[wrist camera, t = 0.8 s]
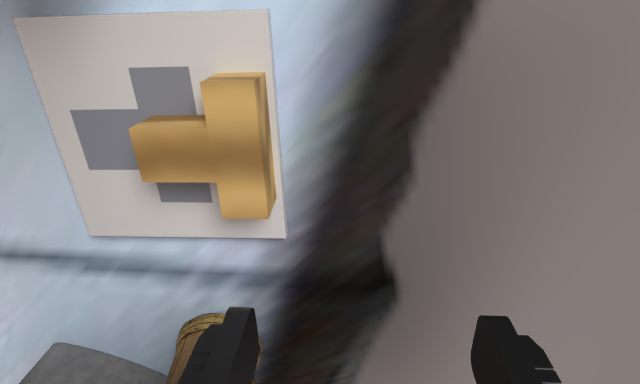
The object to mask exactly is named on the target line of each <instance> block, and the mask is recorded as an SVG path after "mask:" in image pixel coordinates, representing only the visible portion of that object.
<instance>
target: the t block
mask: <svg viewBox="0 0 640 384" xmlns="http://www.w3.org/2000/svg"><path fill="white" fill-rule="evenodd" d="M200 88H201V94H202V100H203V106H204V112H205V115H152V116H150V117H149V118H147V119H145V120H143V121H142V122H140V123H138V124H136V125H134V126H133V127H131V128H129V129H128V130H129V133H130V137H131V141H132V145H133V148H134V152H135V156H136V160H137V164H138V167H139V171H140V175H141V179H142V182H214V183H217V189H218V195H219V201H220V207H221V213H222V219H269V217H270V214H271V211H272V209H273V206H274V203H275V201H276V198H277V196H276V185H275V174H274V163H273V152H272V141H271V131H270V120H269V109H268V98H267V87H266V76H265V72H247V73H216V74H214V75H212V76H210V77H208V78H207V79H205V80H203V81H201V82H200Z"/></svg>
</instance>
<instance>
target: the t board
mask: <svg viewBox="0 0 640 384" xmlns="http://www.w3.org/2000/svg"><path fill="white" fill-rule="evenodd" d="M12 19H13V22H14V25H15V28H16V30H17V33H18V36H19V39H20V42H21V44H22V47H23V50H24V53H25V56H26V58H27V61H28V64H29V67H30V70H31V72H32V75H33V78H34V81H35V84H36V86H37V89H38V92H39V95H40V97H41V100H42V103H43V106H44V109H45V111H46V114H47V117H48V120H49V123H50V125H51V128H52V131H53V134H54V137H55V139H56V142H57V145H58V148H59V151H60V153H61V156H62V159H63V162H64V165H65V167H66V170H67V173H68V176H69V179H70V181H71V184H72V187H73V190H74V193H75V195H76V198H77V201H78V204H79V207H80V209H81V212H82V215H83V218H84V221H85V223H86V226H87V229H88V232H89V235H90V236H143V237H219V238H286V237H287V233H288V229H287V217H286V204H285V192H284V180H283V167H282V155H281V143H280V130H279V118H278V106H277V93H276V81H275V68H274V56H273V44H272V31H271V19H270V9H255V10H225V11H195V12H166V13H136V14H106V15H77V16H47V17H18V18H12ZM247 72H265V76H266V87H267V98H268V109H269V120H270V131H271V141H272V152H273V163H274V174H275V185H276V196H277V198H276V201H275V203H274V206H273V209H272V211H271V214H270V217H269V219H222V213H221V207H220V201H219V195H218V189H217V183H214V182H142V179H141V175H140V171H139V167H138V164H137V160H136V156H135V152H134V148H133V145H132V141H131V137H130V133H129V130H128V129H129V128H131V127H133V126H134V125H136V124H138V123H140V122H142V121H143V120H145V119H147V118H149V117H150V116H152V115H205V112H204V106H203V100H202V94H201V88H200V82H201V81H203V80H205V79H207V78H208V77H210V76H212V75H214V74H216V73H247Z"/></svg>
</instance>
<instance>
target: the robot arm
mask: <svg viewBox="0 0 640 384" xmlns="http://www.w3.org/2000/svg"><path fill="white" fill-rule="evenodd" d="M258 357H259V338H258V331H257V324H256V316H255V310H254V308H244V307H229V309H228V310H227V312H226V315H225V318H224V320H223V323H222V324H211V325H210V326H209V327H208V328H207V329H206V330H205V331H204V332H203V333H202V334H201V335H200V336H199V337H198V340H197V342H196V344H195V346H194V348H193V351H192V355H190V357H189V359H188V362H187V364H186V368H184V370H183V373H182V375H181V377H180V379H179V381H178V384H252V382H253V378H254V374H255V370H256V367H257V362H258ZM471 365H472V370H473V374H474V377H475V380H476V383H477V384H561V381H560V379H559V377H558V375H557V374H556V372H555V371H554V370H553V366H552V364H551V363H550V361H549V359H548V357H547V355H546V354H545V352H544V350H543V349H542V348H541V347H540V346H538V345H537V344H536V343H535V342H534V341H533V340H532V339H531V338H530V337H529V336H526V335H525V336H524V335H518V334H517V333H516V331H515V329H514V327H513V325H512V323H511V321H510V319H509V318H508V317H506V316H482V315H480V316H479V318H478V321H477V325H476V330H475V335H474V339H473V344H472V349H471Z"/></svg>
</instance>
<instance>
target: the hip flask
mask: <svg viewBox="0 0 640 384" xmlns="http://www.w3.org/2000/svg"><path fill="white" fill-rule="evenodd" d="M167 378H168V377H167V376H165V375H163V374H161V373H159V372H156V371H154V370H151V369H149V368H147V367H144V366H142V365H139V364H136V363H133V362H131V361H128V360H125V359H122V358H119V357H116V356H113V355H110V354H106V353H103V352H100V351H96V350H93V349H89V348H85V347H81V346H76V345H72V344H67V343H55V344H53V345H52V346H51V348H50V349H49V350H48V351H47V352H46V353H45V354H44V356H43V357H42V358H41V359H40V360H39V361H38V362H37V364H36V365H35V366H34V367H33V368H32V369H31V371H30V372H29V373H28V374H27V375H26V376H25V377H24V379H23V380H22V381H21V382H20V383H19V384H166V381H167Z"/></svg>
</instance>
